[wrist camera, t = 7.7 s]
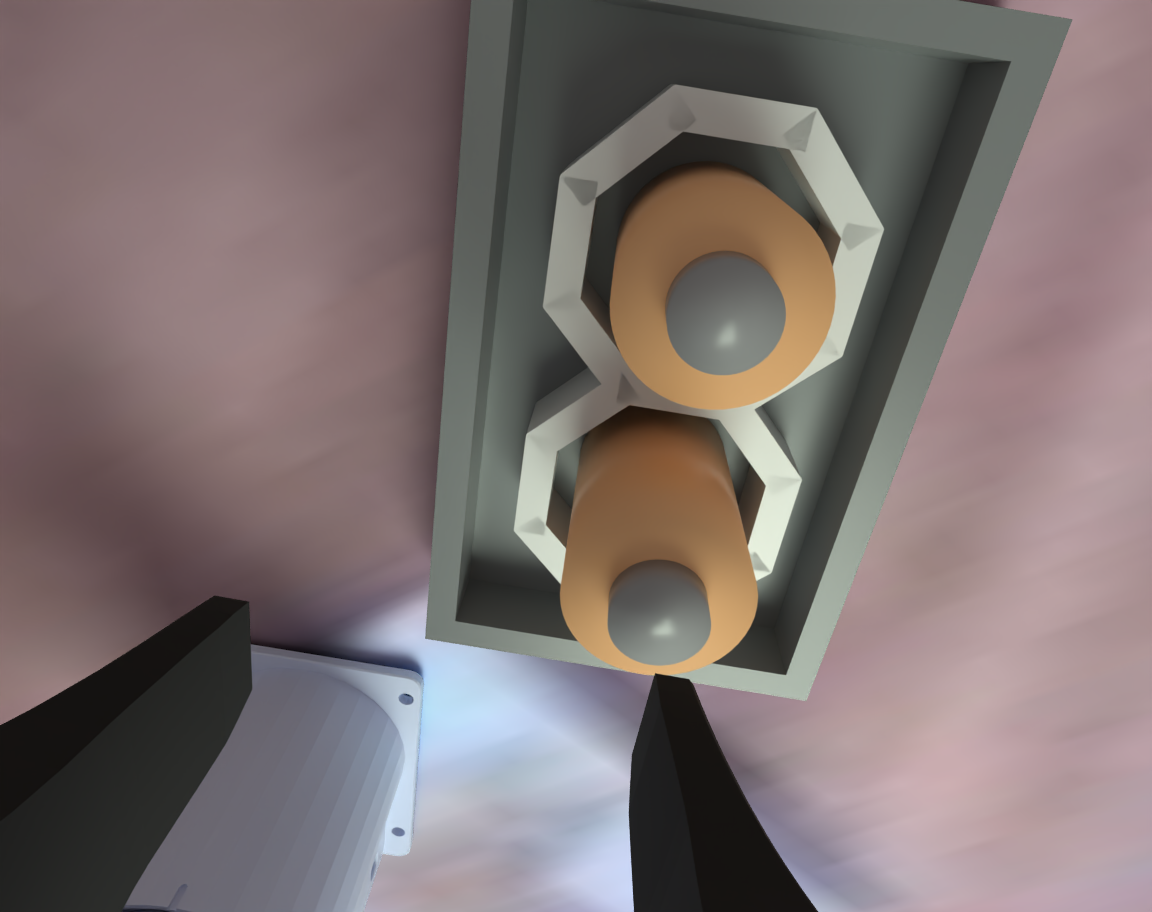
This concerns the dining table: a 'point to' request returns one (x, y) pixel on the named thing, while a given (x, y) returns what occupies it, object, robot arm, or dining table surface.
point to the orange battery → (656, 546)
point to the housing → (711, 278)
